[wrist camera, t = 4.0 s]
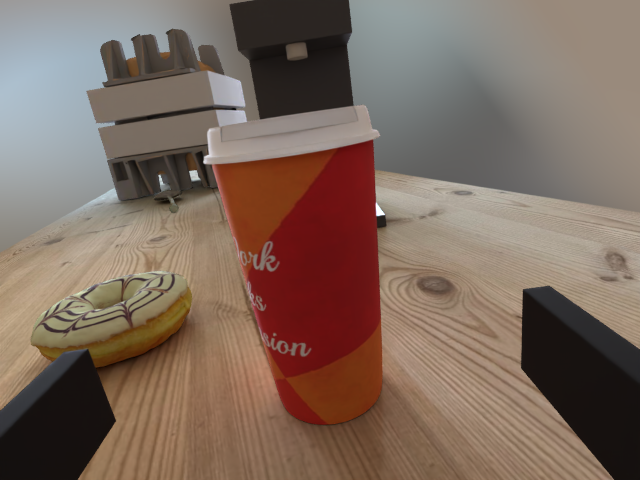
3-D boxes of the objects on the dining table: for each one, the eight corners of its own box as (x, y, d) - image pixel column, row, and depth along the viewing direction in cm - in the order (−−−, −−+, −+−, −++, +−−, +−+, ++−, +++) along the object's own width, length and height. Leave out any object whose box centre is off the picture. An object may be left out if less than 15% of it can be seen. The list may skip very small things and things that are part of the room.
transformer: (259, 169, 133) (235, 42, 121) (233, 185, 102) (196, 17, 90) (168, 182, 136) (136, 60, 124) (116, 201, 106) (66, 41, 93)
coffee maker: (386, 226, 47) (360, -47, 38) (259, 244, 47) (205, -21, 38) (367, 197, 64) (346, 5, 55) (274, 211, 64) (239, 22, 56)
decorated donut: (106, 307, 35) (93, 270, 34) (215, 298, 33) (205, 259, 32) (7, 383, 25) (-16, 334, 24) (154, 374, 24) (137, 322, 23)
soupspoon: (182, 199, 97) (156, 205, 95) (178, 186, 96) (152, 192, 94) (191, 208, 77) (157, 217, 75) (186, 192, 76) (152, 200, 74)
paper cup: (264, 356, 24) (213, 128, 20) (382, 335, 24) (358, 106, 20) (255, 461, 16) (170, 131, 12) (426, 428, 17) (402, 96, 13)
